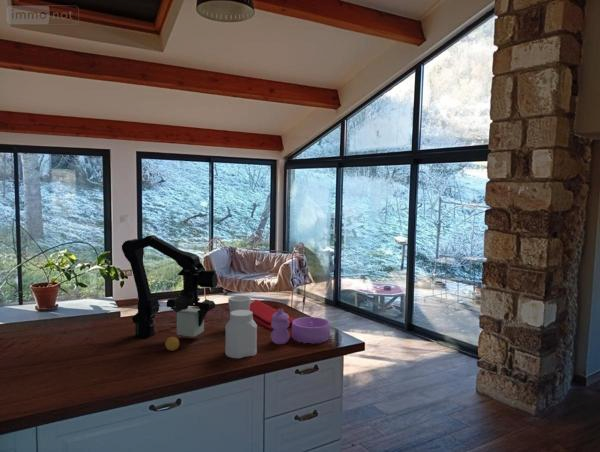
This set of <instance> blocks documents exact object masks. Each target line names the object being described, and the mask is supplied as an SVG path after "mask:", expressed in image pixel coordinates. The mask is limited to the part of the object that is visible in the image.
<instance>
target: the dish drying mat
mask: <svg viewBox="0 0 600 452" xmlns="http://www.w3.org/2000/svg"><path fill="white" fill-rule="evenodd" d="M249 311H252V312H253V320H254V321H255V323H256V324H257V325H260V326H261V327H263V328H265V329H268V330H270V331H271V332H272V331H273V330H274V328H272V326H271V322H272V320H273V319H272V315H273V314H274V313H276V312H278V309H276V308H273V307H271V306H270V305H268V304H266V303H264V302H262V301H260V300H258V299H251V304H250V308H249ZM295 319H296V318H295V317H292V316H290V315H289V319H288V320H289V323H290V324H289V328H292V321H293V320H295Z"/></svg>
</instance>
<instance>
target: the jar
mask: <svg viewBox="0 0 600 452" xmlns="http://www.w3.org/2000/svg"><path fill="white" fill-rule="evenodd" d="M224 328H225V329H224V330H225V350H224V352H225V355H226V356H227V357H228V358H231V359H242V358H245V357H246V358H247V357H252V356H256V355H257V353H258V348H257V344H258V341H257V340H258V339H257V337H258V323H256V322H255V321H254V320H253V312H252V311H249V310H235V311H232V312H230V311H229V320H228V321H227V323H226V324H225V326H224Z"/></svg>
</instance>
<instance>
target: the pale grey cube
mask: <svg viewBox="0 0 600 452" xmlns="http://www.w3.org/2000/svg"><path fill="white" fill-rule="evenodd" d="M198 310H200V309H199V308H195V307H194V308H193V307H188V308H187V309H186V310H181V311H179V312H177V314H176V335H178V336H187V337H193V338H194V337H196V336H198V335H200V334H201V333H203V332H204V331H205V319H204V320H203V322H202V324H201V326H199V314H198V312H197V311H198Z"/></svg>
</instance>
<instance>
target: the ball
mask: <svg viewBox="0 0 600 452" xmlns="http://www.w3.org/2000/svg"><path fill="white" fill-rule="evenodd" d="M179 340H180V339H179V338H178V337H176V336H170V337H168V338H167V339H166V340H165V343H164V345H165V348H166V349H167V350H168V351H173V352H174V351H176V350H177V349H179V347H180V341H179Z"/></svg>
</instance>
